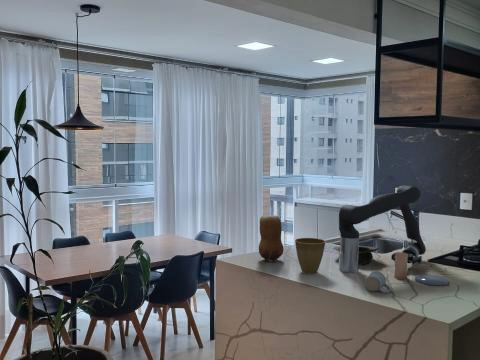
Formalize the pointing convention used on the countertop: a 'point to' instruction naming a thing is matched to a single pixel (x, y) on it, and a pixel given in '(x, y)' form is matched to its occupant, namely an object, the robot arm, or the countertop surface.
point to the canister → (401, 265)
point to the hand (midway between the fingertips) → (404, 261)
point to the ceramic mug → (376, 282)
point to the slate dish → (431, 280)
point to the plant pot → (309, 254)
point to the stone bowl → (363, 254)
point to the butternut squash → (270, 238)
